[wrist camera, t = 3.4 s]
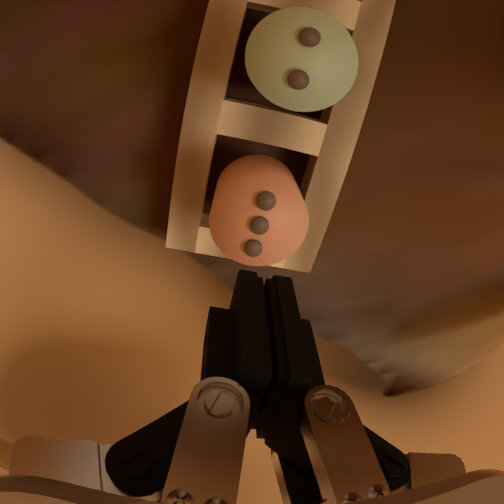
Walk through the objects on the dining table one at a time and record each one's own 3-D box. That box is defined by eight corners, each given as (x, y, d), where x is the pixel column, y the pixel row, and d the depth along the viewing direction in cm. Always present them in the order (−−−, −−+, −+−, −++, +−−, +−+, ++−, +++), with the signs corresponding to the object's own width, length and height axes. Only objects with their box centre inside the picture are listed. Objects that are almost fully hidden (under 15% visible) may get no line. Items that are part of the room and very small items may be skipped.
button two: (343, 35, 14) (371, 27, 10) (321, 112, 16) (343, 125, 13) (256, 11, 13) (259, -7, 10) (236, 92, 16) (233, 98, 12)
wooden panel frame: (398, -67, 11) (410, -75, 9) (305, 257, 24) (309, 272, 22) (251, -111, 9) (252, -124, 8) (171, 232, 23) (165, 247, 21)
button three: (306, 165, 18) (322, 191, 14) (284, 235, 20) (293, 275, 17) (224, 146, 17) (218, 168, 14) (209, 221, 20) (202, 259, 16)
